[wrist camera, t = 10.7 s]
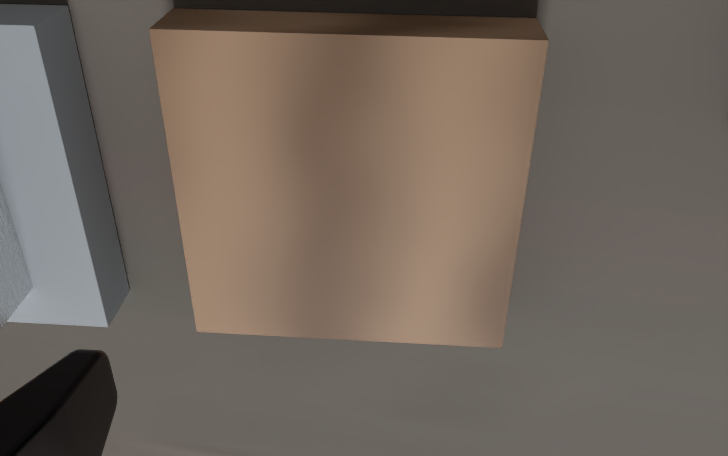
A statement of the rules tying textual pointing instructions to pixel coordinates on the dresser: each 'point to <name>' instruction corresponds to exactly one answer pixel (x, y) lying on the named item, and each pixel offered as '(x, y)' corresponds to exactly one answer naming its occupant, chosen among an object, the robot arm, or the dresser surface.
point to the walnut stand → (350, 169)
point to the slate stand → (55, 173)
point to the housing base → (11, 265)
